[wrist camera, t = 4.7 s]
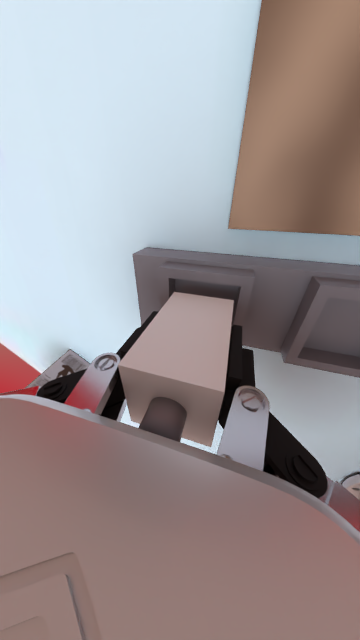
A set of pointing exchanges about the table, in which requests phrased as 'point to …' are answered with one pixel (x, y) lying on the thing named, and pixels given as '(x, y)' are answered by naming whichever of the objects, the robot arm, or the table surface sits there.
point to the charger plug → (180, 368)
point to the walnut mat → (302, 121)
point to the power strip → (266, 301)
